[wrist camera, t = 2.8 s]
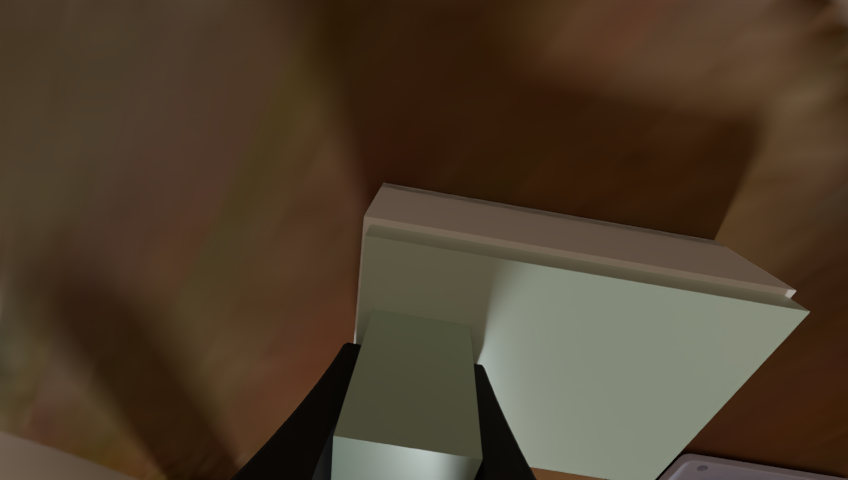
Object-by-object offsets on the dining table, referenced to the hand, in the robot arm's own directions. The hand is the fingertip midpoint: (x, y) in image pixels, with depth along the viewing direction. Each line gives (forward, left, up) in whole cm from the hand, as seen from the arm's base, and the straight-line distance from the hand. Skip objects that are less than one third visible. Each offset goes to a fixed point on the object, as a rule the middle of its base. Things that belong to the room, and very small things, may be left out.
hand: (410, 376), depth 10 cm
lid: (-4, 0, -1) cm, 4 cm away
